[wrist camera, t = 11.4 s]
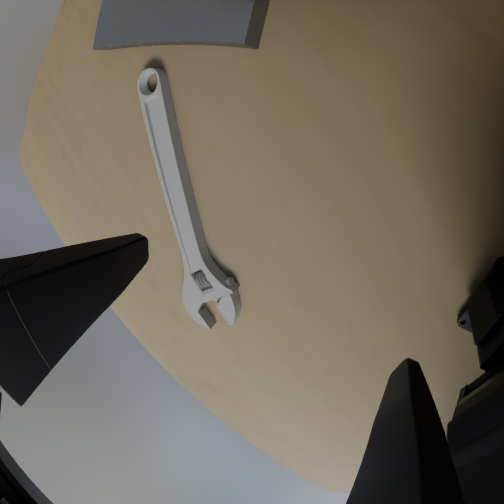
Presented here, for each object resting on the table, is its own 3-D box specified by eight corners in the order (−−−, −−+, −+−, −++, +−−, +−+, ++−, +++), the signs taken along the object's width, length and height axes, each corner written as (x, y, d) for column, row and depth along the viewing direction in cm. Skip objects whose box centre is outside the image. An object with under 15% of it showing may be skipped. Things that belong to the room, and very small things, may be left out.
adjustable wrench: (146, 74, 19) (132, 74, 18) (207, 51, 17) (193, 49, 15) (197, 313, 31) (188, 323, 29) (249, 326, 28) (241, 337, 26)
